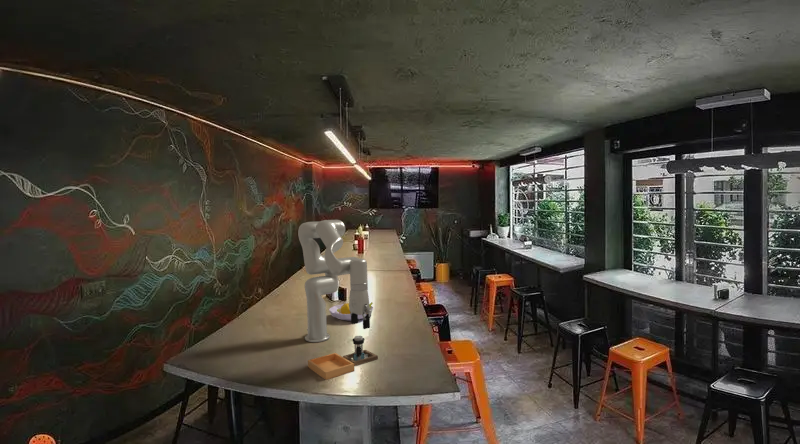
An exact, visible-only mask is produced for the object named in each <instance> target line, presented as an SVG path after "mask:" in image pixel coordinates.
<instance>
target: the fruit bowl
mask: <svg viewBox="0 0 800 444" xmlns="http://www.w3.org/2000/svg"><path fill="white" fill-rule="evenodd" d="M373 304H374V303H373V302H371V303H370V302H369V307H370V309H371V310H372V311H373V310H374V307H375V306H372V305H373ZM328 310H329V311H328V312H329V313H330V316H331V317H333V318H336V319H339V320H341V321H347V322H351V315H350V310H349V302H347V303H342V304H338V305H337V304H336V305H332V306H331V307H330V308H328ZM365 316H366V314H365ZM361 319H362V320H363V316H362V314H361V315H358V320H361Z"/></svg>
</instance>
